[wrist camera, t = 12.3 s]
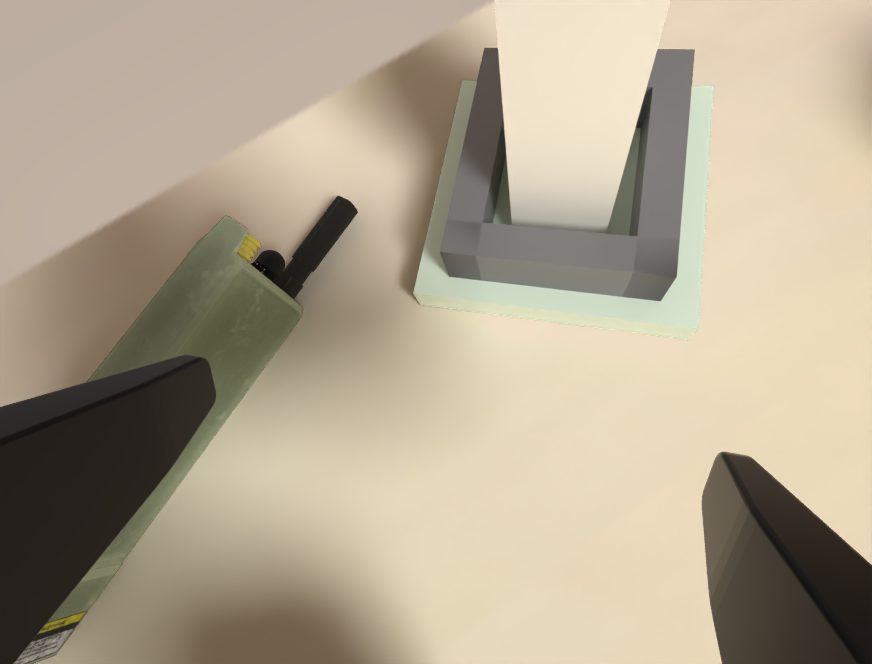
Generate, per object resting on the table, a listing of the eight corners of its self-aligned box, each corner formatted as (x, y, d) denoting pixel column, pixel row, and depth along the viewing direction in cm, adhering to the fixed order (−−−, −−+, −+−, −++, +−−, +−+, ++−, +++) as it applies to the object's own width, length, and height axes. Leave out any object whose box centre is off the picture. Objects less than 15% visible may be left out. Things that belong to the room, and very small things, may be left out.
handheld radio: (18, 617, 23) (331, 201, 27) (62, 666, 23) (379, 228, 26) (-166, 669, 17) (276, 117, 21) (-115, 739, 16) (337, 148, 20)
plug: (603, 241, 22) (692, -75, 10) (512, 233, 23) (489, -64, 11) (617, 123, 24) (706, -271, 11) (531, 120, 25) (529, -248, 12)
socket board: (687, 339, 22) (720, 307, 18) (420, 304, 24) (399, 270, 21) (703, 109, 25) (734, 40, 21) (465, 101, 27) (455, 39, 24)
